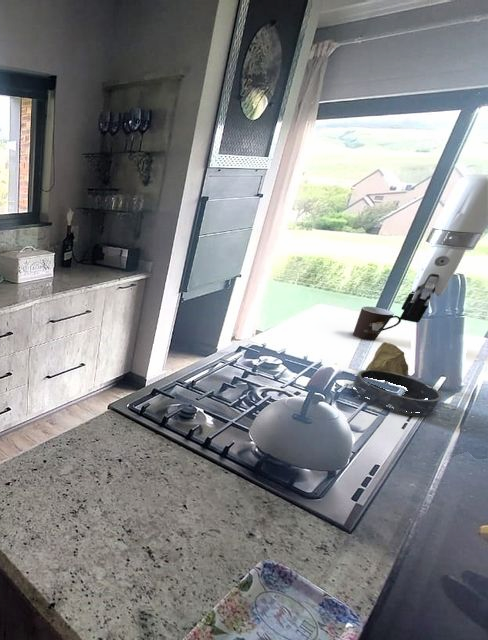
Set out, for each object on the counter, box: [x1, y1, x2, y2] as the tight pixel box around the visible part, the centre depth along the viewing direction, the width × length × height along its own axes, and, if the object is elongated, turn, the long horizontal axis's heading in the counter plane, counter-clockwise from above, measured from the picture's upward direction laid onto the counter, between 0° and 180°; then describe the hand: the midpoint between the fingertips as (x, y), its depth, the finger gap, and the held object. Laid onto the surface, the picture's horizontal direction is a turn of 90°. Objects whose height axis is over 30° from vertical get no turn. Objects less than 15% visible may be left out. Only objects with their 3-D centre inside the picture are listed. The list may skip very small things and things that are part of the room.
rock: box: [365, 342, 409, 377], centre depth 116 cm, size 11×9×10 cm
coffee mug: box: [352, 306, 402, 342], centre depth 142 cm, size 12×9×10 cm
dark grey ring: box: [350, 369, 443, 417], centre depth 105 cm, size 16×16×4 cm
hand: (409, 315), depth 94 cm, fingers open, 9 cm apart
